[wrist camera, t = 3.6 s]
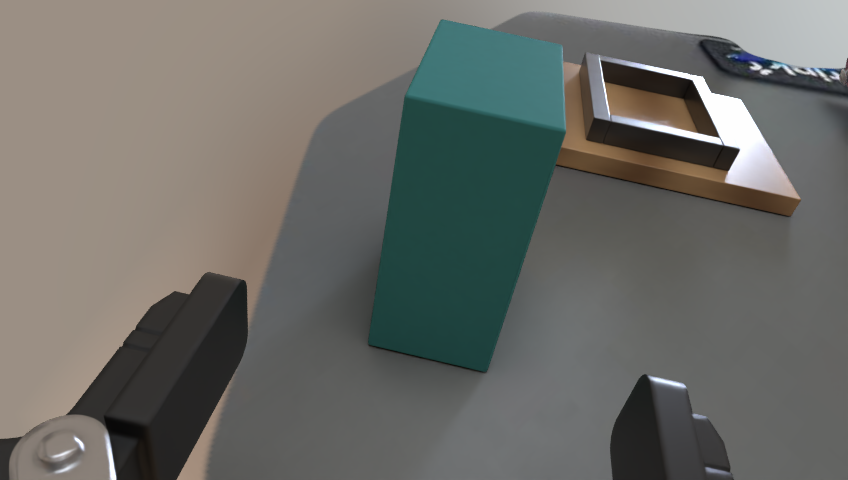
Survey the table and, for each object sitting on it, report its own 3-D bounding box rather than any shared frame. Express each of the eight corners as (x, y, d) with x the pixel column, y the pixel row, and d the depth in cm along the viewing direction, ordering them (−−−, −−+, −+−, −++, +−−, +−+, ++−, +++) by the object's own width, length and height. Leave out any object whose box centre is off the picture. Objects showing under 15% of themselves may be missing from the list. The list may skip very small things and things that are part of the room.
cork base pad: (516, 156, 36) (528, 114, 35) (524, 68, 47) (534, 34, 46) (790, 216, 36) (816, 177, 34) (733, 114, 47) (750, 80, 45)
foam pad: (367, 345, 23) (404, 94, 17) (403, 236, 29) (440, 18, 23) (486, 373, 23) (567, 130, 17) (499, 257, 28) (563, 44, 22)
